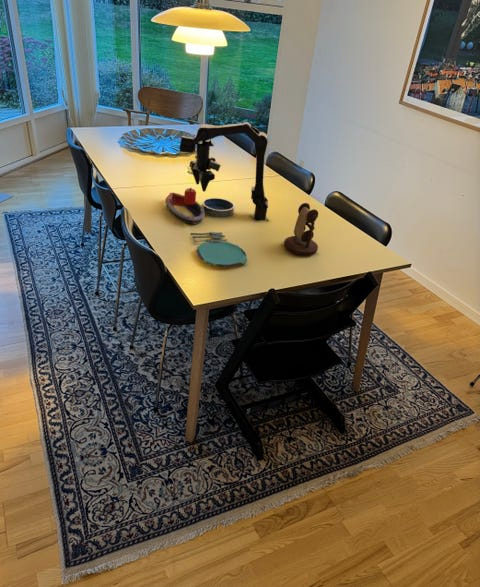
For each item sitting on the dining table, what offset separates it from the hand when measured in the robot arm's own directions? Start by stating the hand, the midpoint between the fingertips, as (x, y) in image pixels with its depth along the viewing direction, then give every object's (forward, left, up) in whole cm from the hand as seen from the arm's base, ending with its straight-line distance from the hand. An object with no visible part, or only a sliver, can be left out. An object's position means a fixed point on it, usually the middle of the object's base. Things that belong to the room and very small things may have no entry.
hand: (200, 187), depth 210 cm
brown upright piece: (-45, -32, -11) cm, 56 cm away
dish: (-3, +8, -11) cm, 14 cm away
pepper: (-1, +5, -7) cm, 9 cm away
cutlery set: (-41, +5, -11) cm, 43 cm away
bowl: (-3, -9, -11) cm, 15 cm away
